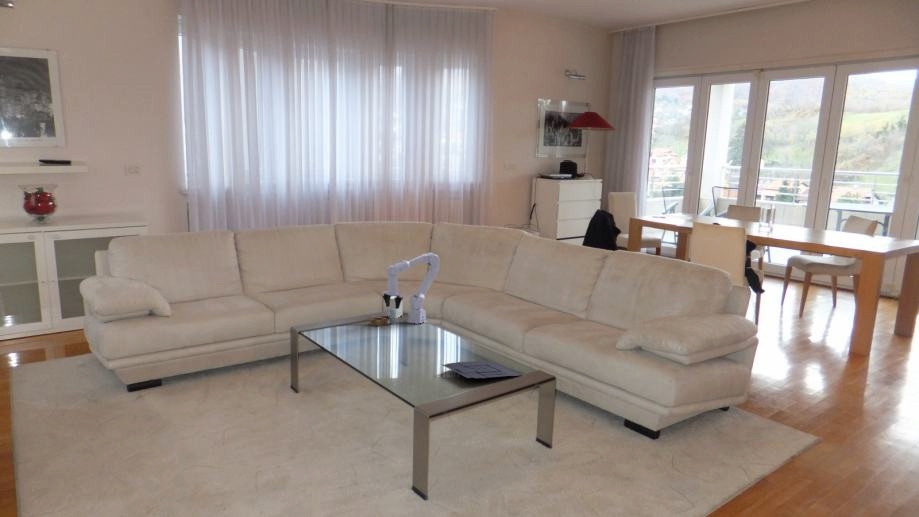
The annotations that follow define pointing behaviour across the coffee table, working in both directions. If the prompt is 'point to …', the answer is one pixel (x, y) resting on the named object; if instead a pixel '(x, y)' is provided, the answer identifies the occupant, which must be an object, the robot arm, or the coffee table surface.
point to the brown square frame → (378, 321)
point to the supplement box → (394, 307)
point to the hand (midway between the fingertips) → (392, 307)
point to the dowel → (392, 316)
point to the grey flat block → (480, 369)
